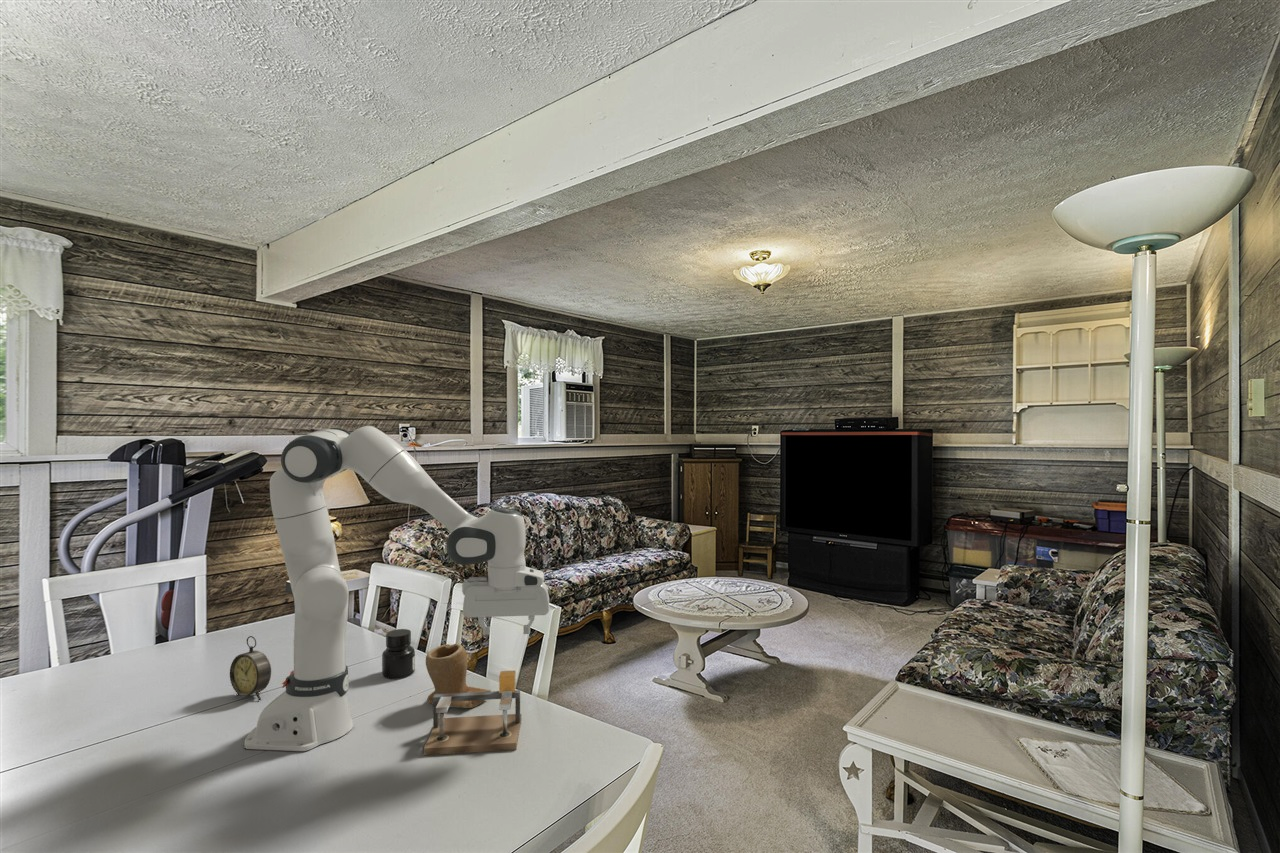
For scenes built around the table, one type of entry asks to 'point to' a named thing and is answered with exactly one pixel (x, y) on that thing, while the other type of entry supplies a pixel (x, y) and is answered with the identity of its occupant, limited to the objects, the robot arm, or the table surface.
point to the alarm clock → (250, 672)
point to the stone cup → (450, 673)
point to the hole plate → (471, 727)
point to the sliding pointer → (506, 693)
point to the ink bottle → (398, 655)
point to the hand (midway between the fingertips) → (506, 634)
